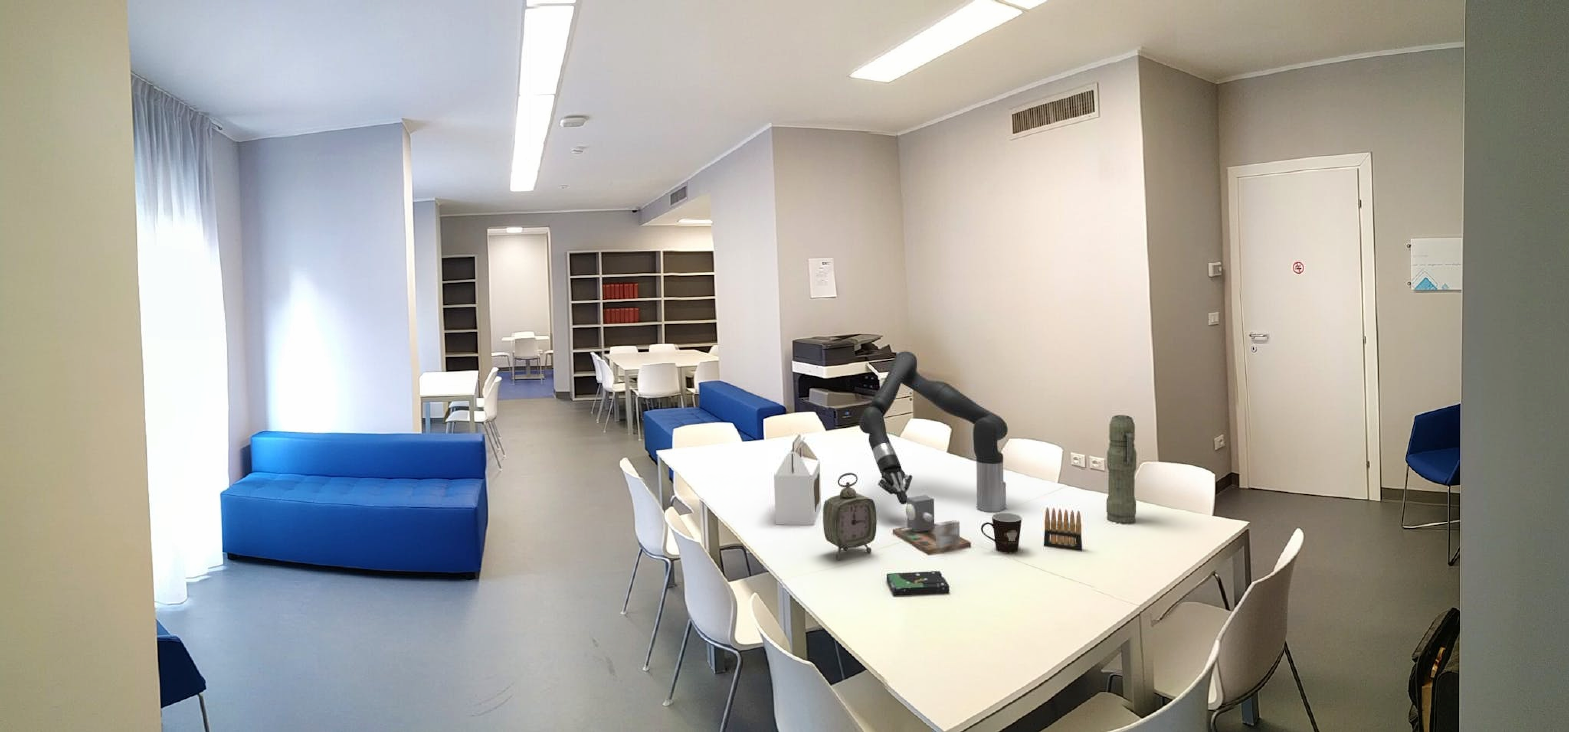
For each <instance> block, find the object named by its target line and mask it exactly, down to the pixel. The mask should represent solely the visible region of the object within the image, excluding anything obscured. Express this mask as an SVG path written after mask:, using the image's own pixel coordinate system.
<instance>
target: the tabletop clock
mask: <svg viewBox="0 0 1569 732" xmlns="http://www.w3.org/2000/svg"><path fill="white" fill-rule="evenodd" d="M846 476H847V477H848V476H854V478H855V481H854V482H852V483H850V482H849V481H847V482H846V483H845V484H841V483H840V481H841V479H842V478H843V477H846ZM857 483H858V476H857V474H855V473H853V472H846V473H843V474H842V475H840V476H839V477H838V479H837V485H838V486H839V487H841V488H842V489H841V491H840V493H839V494H837V495H834V496H830V497H829V498H827V499H826V500H825V501H824V503H823V506H822V507H823V509H822V524H823V525H822V527H823V534H824V537H825V540H826V541H827V542H828V543H830V544H832V545H833V546H836V547H837V548H838V550H837V551H838V554H837V555H836V557H835V558H836V560H838V561H840V560H841V559H842V555H841V553H842V552H841V551H843V552H845V553H847V552H848V551H849V549H854V548H858V547H862V546H864V547H865V548H866V553H868V554H870V553H871V552H872V547H868V544H870V543H872V542H873V541H874V540H875V538H876V534H877V521H878V518H877V508H876V504H875V500H874V499H872V498H869V497H867V496H864V495H863V494H860V493H857V491H856V489H854V488H853V486H855V485H856V484H857Z"/></svg>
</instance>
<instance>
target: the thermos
mask: <svg viewBox="0 0 1569 732" xmlns="http://www.w3.org/2000/svg"><path fill="white" fill-rule="evenodd" d="M1108 426H1109V429H1108V431H1109V433H1108V434H1109V435H1108V436H1109V437H1108V438H1109V443H1108V444H1109V445H1108V449H1107V450H1106V451H1107V452H1106V468H1107V470H1108V482H1107V483H1108V486H1107V487H1108V490H1107V491H1108V492H1107V494H1108V496H1107V498H1106V510H1105V511H1106V520H1107V521H1108V522H1110V521H1111V523H1113V522H1116V523H1115V524H1118V523H1121V524H1120V525H1131V523H1132V524H1134V522H1135V523H1136V514H1137V500H1136V497H1135V483H1136V481H1135V479H1136V478H1135V477H1136V475H1135V474H1136V470H1137V456H1138V455H1137V451H1136V447H1135V446H1136V445H1135V439H1136V437H1135V435H1136V434H1135V429H1136V428H1135V427H1136V424H1135V421H1134V418H1133V417H1131V416H1130V415H1125V414H1122V415H1121V414H1118V415H1114V416H1112V417H1111V419H1110V422H1109V425H1108Z"/></svg>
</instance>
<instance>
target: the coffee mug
mask: <svg viewBox="0 0 1569 732" xmlns="http://www.w3.org/2000/svg"><path fill="white" fill-rule="evenodd" d="M1022 519H1023V517H1022V516H1021V515H1020V514H1016V513H1012V512H998V513H994V514H992V515H991V520H992V522H990V521H989V522H988V521H987V522H986V521H985V522H983V523H982V525H981V527H980V530H981V531H980V532H981V533H982V534H983V535H984V536H985V537H987V538H988V539H990V540H991V541H993V542H994V543H995V550H996V551H997V552H999V553H1004V554H1015V553H1017V552H1019V547H1020V536H1021V530H1022V529H1021V528H1022ZM986 525H990V526H991V527H992V529H993V534H994V535H993V536H994V538H993V537H991V536H989V534H986V533H985V531H984V527H985V526H986Z"/></svg>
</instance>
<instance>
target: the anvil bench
mask: <svg viewBox="0 0 1569 732" xmlns="http://www.w3.org/2000/svg"><path fill="white" fill-rule="evenodd" d="M906 528H907V526H902V527H898V528H896V527H895V528H892V534H893V535H895V536H897V537H898V538H900V539H901V540H903V541H904V542H906V543H908V544H910V545H911V546H913V547H915V548H916V549H918V550H920V551H921V552H923V553H925V554H927V555H928V556H929V555H935V554H940V553H945V552H951V551H956V550H961V549H967V548H971V547H972V542H971V541H969V540H968V539H965V538H964V537H962V536H961V534H960V530H961V529H960V521H958V520H956V519H954V520H953V519H952V520H947V521H942V522H936V523H935V522H934V529H933V530H927V531H921V532H914V531H912V530H907V531H901V529H906Z"/></svg>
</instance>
